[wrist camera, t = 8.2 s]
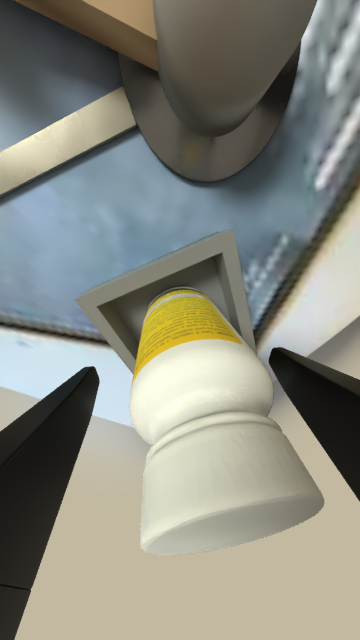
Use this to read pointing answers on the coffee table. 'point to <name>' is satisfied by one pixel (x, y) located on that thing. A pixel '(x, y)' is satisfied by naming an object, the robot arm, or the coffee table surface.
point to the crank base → (148, 131)
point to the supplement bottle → (210, 435)
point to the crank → (196, 48)
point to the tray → (165, 273)
